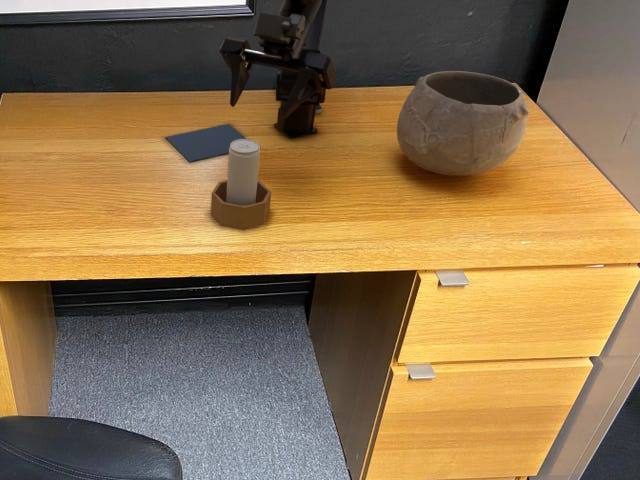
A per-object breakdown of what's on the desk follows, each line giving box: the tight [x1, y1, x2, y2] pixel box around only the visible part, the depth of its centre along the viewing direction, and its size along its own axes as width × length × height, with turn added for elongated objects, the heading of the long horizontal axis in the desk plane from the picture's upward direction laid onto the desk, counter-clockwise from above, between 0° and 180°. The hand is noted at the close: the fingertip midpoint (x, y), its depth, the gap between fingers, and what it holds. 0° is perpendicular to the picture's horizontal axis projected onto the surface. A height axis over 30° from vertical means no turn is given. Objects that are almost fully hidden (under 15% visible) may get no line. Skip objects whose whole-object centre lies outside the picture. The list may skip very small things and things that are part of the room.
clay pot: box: [396, 70, 531, 176], centre depth 121 cm, size 21×21×15 cm
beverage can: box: [226, 138, 261, 206], centre depth 111 cm, size 5×5×12 cm
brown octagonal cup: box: [210, 179, 272, 230], centre depth 113 cm, size 9×9×4 cm
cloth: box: [165, 123, 247, 163], centre depth 133 cm, size 14×11×1 cm
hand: (256, 111), depth 111 cm, fingers open, 9 cm apart
